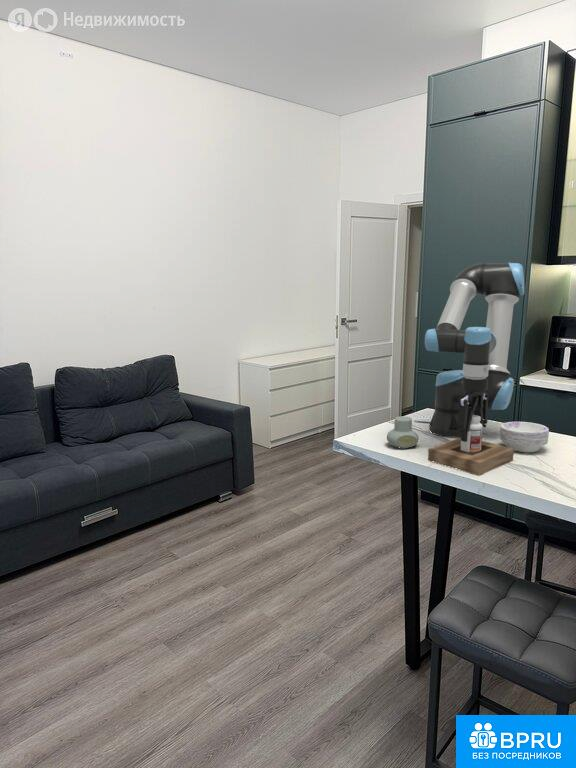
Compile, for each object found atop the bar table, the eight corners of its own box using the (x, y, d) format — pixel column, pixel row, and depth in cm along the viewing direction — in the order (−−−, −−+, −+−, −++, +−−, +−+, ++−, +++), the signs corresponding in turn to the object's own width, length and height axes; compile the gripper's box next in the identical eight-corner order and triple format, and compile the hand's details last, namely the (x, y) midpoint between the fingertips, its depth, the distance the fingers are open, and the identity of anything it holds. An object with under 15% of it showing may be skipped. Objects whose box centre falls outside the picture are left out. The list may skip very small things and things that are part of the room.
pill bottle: (465, 445, 179) (467, 412, 177) (484, 449, 175) (486, 416, 173) (457, 450, 174) (459, 416, 172) (476, 454, 170) (478, 419, 168)
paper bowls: (509, 439, 197) (510, 418, 196) (553, 448, 187) (555, 425, 185) (491, 449, 186) (492, 426, 185) (537, 459, 176) (539, 435, 175)
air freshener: (390, 450, 186) (391, 422, 184) (383, 443, 194) (384, 415, 192) (421, 449, 187) (422, 420, 185) (413, 441, 195) (414, 414, 193)
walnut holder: (428, 460, 176) (428, 448, 175) (463, 447, 188) (463, 436, 188) (478, 475, 162) (479, 462, 161) (513, 460, 175) (513, 448, 174)
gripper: (468, 382, 161) (464, 457, 166) (502, 375, 173) (497, 445, 178) (446, 379, 167) (443, 452, 171) (481, 372, 179) (476, 440, 183)
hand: (471, 448), depth 174 cm, fingers closed on pill bottle, 6 cm apart
